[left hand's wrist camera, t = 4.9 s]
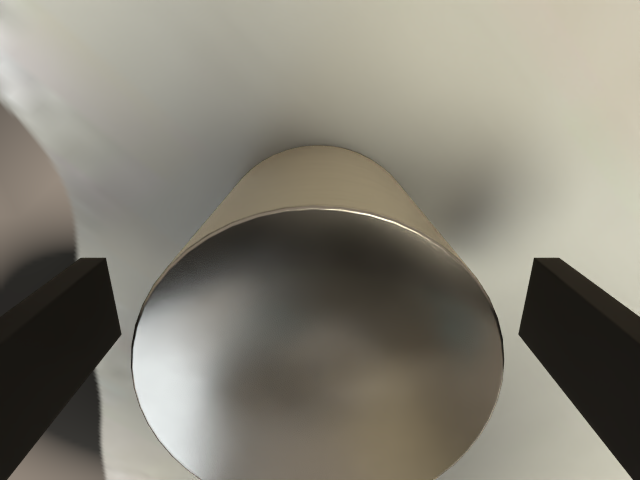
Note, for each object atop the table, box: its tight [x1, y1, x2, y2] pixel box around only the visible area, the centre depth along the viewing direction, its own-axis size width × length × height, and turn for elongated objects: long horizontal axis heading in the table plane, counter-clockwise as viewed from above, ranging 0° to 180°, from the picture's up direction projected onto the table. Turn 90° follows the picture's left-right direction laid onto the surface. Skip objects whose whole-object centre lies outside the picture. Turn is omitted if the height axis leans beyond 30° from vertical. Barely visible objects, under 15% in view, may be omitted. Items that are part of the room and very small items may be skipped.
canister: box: [131, 145, 504, 480], centre depth 13 cm, size 8×8×9 cm
